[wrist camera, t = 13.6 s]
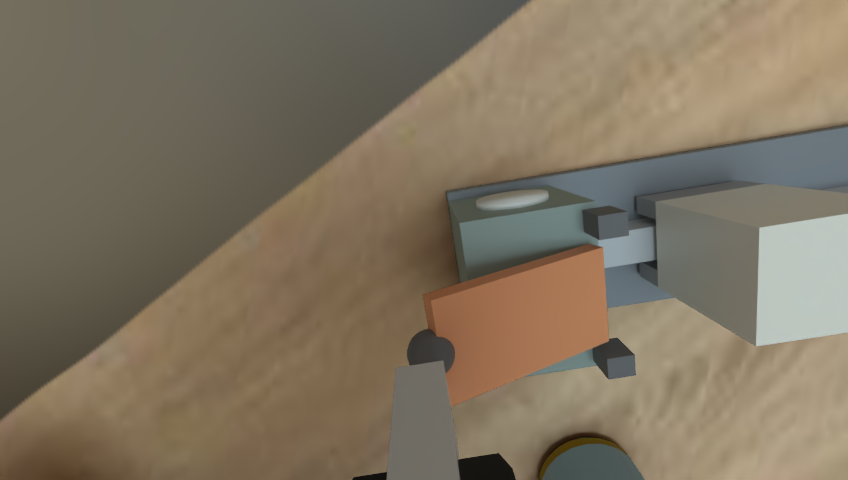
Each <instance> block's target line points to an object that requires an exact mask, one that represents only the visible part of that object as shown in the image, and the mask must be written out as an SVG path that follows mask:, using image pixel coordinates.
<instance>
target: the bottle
mask: <svg viewBox="0 0 848 480" xmlns="http://www.w3.org/2000/svg"><path fill="white" fill-rule="evenodd" d="M539 480H645V479H644V478H643V476H642V475H641V473H640V472H639V471H638V469H637V468H636V466H635V465H634V463H633V462H632V460H631V459H630V457H629V456H628V455H627V453H626V452H625V451H624V450H623V449H622V448H621V447H619V446H618V445H616V444H615V443H613V442H611V441H607V440H604V439H600V438H577V439H574V440H570V441H567V442H566V443H564V444H562V445H560V446H559V447H557V448H556V449H555V450H554V451H553V452H552V453H551V454H550V455H549V457H548V458H547V459H546V461H545V463H544V465H543V467H542V469H541V471H540V477H539Z"/></svg>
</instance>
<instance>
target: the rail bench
mask: <svg viewBox="0 0 848 480" xmlns="http://www.w3.org/2000/svg"><path fill="white" fill-rule="evenodd" d="M738 180H739V181H747V182H756V183H764V184H773V185H781V186H790V187H798V188H807V189H815V190H823V191H832V192H840V193H848V125H842V126H836V127H830V128H824V129H818V130H812V131H806V132H800V133H794V134H788V135H782V136H776V137H770V138H763V139H757V140H751V141H745V142H739V143H733V144H727V145H721V146H715V147H709V148H703V149H697V150H691V151H685V152H679V153H673V154H667V155H661V156H654V157H648V158H642V159H636V160H630V161H624V162H618V163H612V164H606V165H600V166H594V167H588V168H582V169H576V170H570V171H564V172H558V173H551V174H545V175H539V176H533V177H527V178H521V179H515V180H509V181H503V182H497V183H491V184H485V185H479V186H473V187H467V188H461V189H455V190H449V191H446V195H447V201H448V208H449V215H450V221H451V228H452V234H453V241H454V248H455V254H456V261H457V267H458V274H459V281H460V283H462V282H465V281H469V280H472V279H475V278H479V277H482V276H485V275H488V274H492V273H495V272H498V271H502V270H505V269H508V268H511V267H515V266H518V265H521V264H525V263H528V262H531V261H534V260H538V259H541V258H544V257H548V256H551V255H554V254H557V253H561V252H564V251H567V250H571V249H574V248H577V247H580V246H584V245H587V244H592V245H596V246H601V247H603V253H604V269H605V285H606V301H607V308H611V307H617V306H624V305H630V304H637V303H643V302H649V301H656V300H662V299H669V298H675V297H674V296H672V295H670V294H669V293H667V292H665V291H664V290H662V289H660V288H659V287H657V286H655V285H654V284H652V283H650V282H649V281H647V280H645V279H644V278H642V277H640V270H639V263H640V262H647V261H653V260H657V237H656V219H653V218H650V217H647V216H644V215H641V214H637V199H636V197H639V196H645V195H652V194H658V193H664V192H670V191H676V190H682V189H688V188H695V187H701V186H707V185H713V184H719V183H725V182H731V181H738ZM591 366H598V367H599V368H600V369H601V371H602V372H603V373H604V374H605V376H606V377H607V378H608V379H614V378H621V377H627V376H634V375H636V371H635V355H634V354H633V353H632V352H631V351H630V350H629V349H628V348H627V347H626V346H625V345H624V344H623V343H622V342H621V341H620V340H619V339H618V338H613V339H609V341H608V342H606V343H603V344H601V345H599V346H596V347H594V348H591V349H589V350H587V351H584V352H582V353H579V354H577V355H574V356H572V357H570V358H567V359H565V360H562V361H560V362H558V363H555V364H553V365H550V366H548V367H546V368H543V369H541V370H538V371H536V372H533V373H531V374H529V375H526V376H532V375H539V374H545V373H552V372H558V371H565V370H571V369H578V368H585V367H591ZM526 376H524V377H526Z"/></svg>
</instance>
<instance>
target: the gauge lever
mask: <svg viewBox="0 0 848 480" xmlns="http://www.w3.org/2000/svg"><path fill="white" fill-rule="evenodd" d="M423 300H424V306H425V311H426V317H427V323H428V328H429V329H426V330H422V331H420V332H419V333H417V334H416V335H415V336H414V337H413V338H412V339H411V341H410V343H409V346H408V350H407V357H408V362H409V364H410V366H411V365H417V364H424V363H430V362H436V361H442V360H443V361H444V367H445V373H446V379H447V385H448V391H449V397H450V403H451V406H454V405H456V404H459V403H461V402H463V401H466V400H468V399H471V398H473V397H476V396H478V395H480V394H483V393H485V392H488V391H490V390H492V389H495V388H497V387H500V386H502V385H504V384H507V383H509V382H512V381H514V380H517V379H519V378H521V377H524V376H526V375H529V374H531V373H533V372H536V371H538V370H541V369H543V368H546V367H548V366H550V365H553V364H555V363H558V362H560V361H562V360H565V359H567V358H570V357H572V356H574V355H577V354H579V353H582V352H584V351H587V350H589V349H591V348H594V347H596V346H599V345H601V344H603V343H606V342H608V341H609V332H608V316H607V301H606V285H605V269H604V253H603V247H601V246H596V245H592V244H587V245H584V246H580V247H577V248H574V249H571V250H567V251H564V252H561V253H557V254H554V255H551V256H548V257H544V258H541V259H538V260H534V261H531V262H528V263H525V264H521V265H518V266H515V267H511V268H508V269H505V270H502V271H498V272H495V273H492V274H488V275H485V276H482V277H479V278H475V279H472V280H469V281H465V282H462V283H459V284H456V285H452V286H449V287H446V288H442V289H439V290H436V291H433V292H429V293H426V294H423Z"/></svg>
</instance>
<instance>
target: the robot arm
mask: <svg viewBox="0 0 848 480" xmlns="http://www.w3.org/2000/svg"><path fill="white" fill-rule="evenodd" d="M352 480H516V479H515V476H514V472H513V469H512V468H511V466H510V465H509V464H508V463H507V462H506V461H505V460H504V459H503V458H502V456H501V455H500V454H499V453H497V454H491V455H484V456H478V457H471V458H465V459H459V454H458V447H457V440H456V433H455V427H454V421H453V415H452V409H451V403H450V397H449V391H448V385H447V379H446V373H445V367H444V361H443V360H442V361H436V362H430V363H424V364H417V365H411V366H405V367H398V368H396V372H395V384H394V396H393V408H392V420H391V432H390V444H389V456H388V468H387V472H385V473H378V474H372V475H366V476H359V477H354V478H353V479H352Z"/></svg>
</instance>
